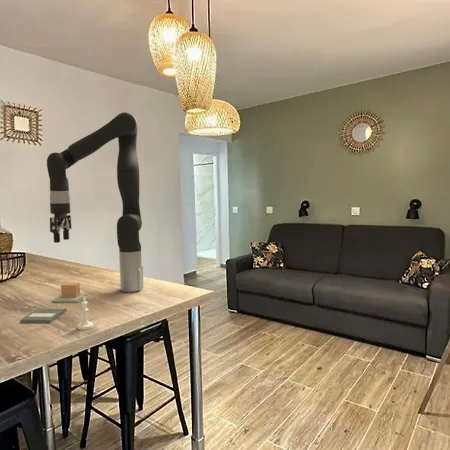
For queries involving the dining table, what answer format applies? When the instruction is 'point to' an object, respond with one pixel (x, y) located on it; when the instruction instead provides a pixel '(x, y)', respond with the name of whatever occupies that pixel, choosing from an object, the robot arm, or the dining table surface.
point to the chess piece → (84, 317)
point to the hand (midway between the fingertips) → (61, 241)
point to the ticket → (43, 315)
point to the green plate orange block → (70, 293)
